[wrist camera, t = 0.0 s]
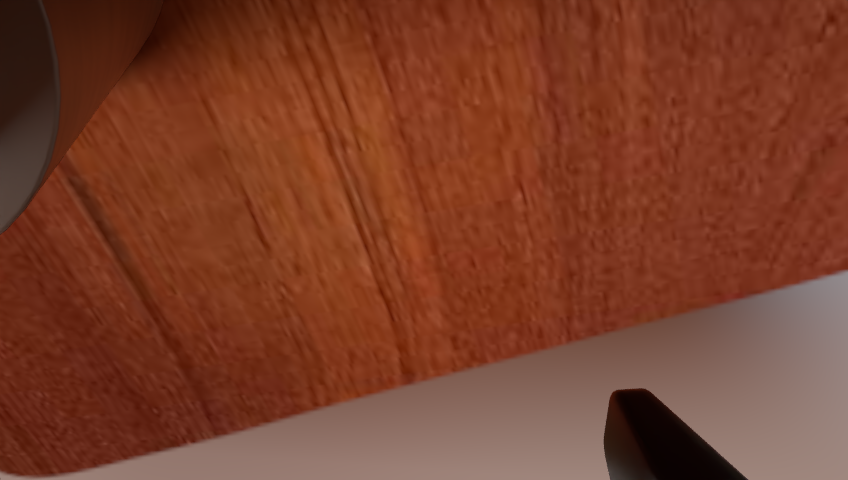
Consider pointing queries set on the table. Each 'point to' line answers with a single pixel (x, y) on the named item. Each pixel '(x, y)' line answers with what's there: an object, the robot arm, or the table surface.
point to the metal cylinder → (57, 81)
